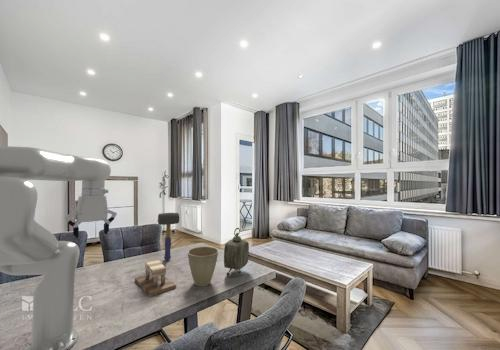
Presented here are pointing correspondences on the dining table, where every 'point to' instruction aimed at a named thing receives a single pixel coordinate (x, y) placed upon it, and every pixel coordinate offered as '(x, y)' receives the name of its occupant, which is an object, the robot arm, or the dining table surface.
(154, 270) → the oak board
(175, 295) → the dining table surface
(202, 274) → the plant pot
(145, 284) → the wooden peg stand
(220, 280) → the dining table surface
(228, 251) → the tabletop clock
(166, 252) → the rubber mallet
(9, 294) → the dining table surface
